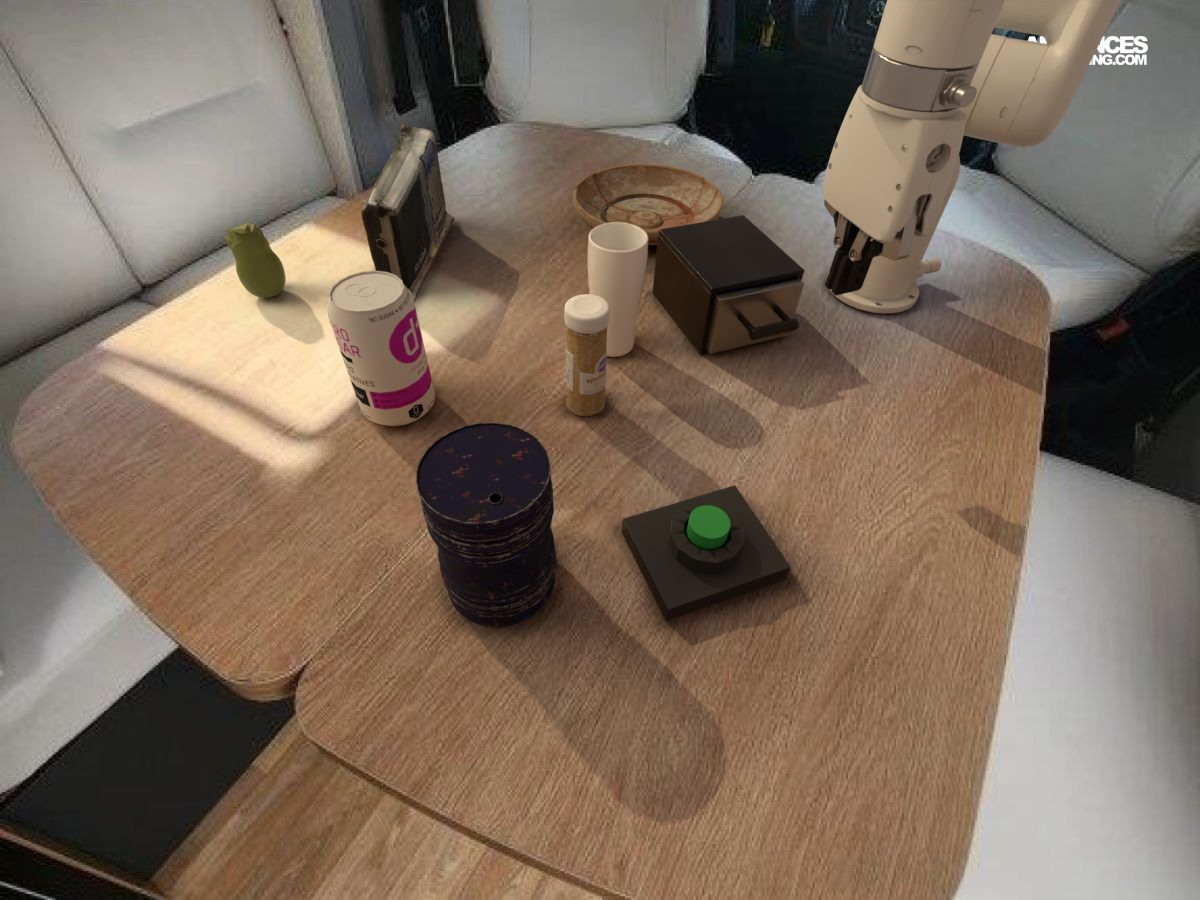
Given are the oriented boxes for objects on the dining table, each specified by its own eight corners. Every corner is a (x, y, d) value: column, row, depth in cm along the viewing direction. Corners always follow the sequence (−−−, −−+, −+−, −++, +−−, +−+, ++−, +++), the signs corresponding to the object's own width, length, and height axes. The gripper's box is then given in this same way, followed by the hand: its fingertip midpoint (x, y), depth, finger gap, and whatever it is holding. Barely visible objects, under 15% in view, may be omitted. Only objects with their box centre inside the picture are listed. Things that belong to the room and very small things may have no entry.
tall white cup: (634, 366, 77) (644, 255, 66) (581, 358, 78) (581, 247, 67) (643, 334, 81) (653, 225, 70) (592, 326, 82) (594, 218, 71)
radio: (410, 306, 84) (385, 198, 73) (350, 298, 85) (317, 190, 74) (468, 224, 100) (454, 125, 89) (416, 218, 101) (397, 119, 90)
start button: (715, 512, 57) (718, 500, 56) (734, 543, 55) (738, 531, 54) (679, 523, 56) (682, 511, 55) (698, 555, 54) (701, 543, 53)
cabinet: (785, 335, 82) (805, 270, 75) (700, 355, 79) (712, 288, 72) (730, 277, 91) (743, 214, 84) (652, 293, 88) (658, 229, 81)
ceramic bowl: (625, 179, 113) (627, 150, 109) (743, 218, 104) (749, 189, 100) (544, 228, 100) (542, 198, 96) (670, 278, 91) (674, 247, 87)
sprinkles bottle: (598, 421, 70) (602, 322, 60) (560, 412, 71) (557, 313, 61) (610, 395, 73) (615, 297, 63) (573, 387, 74) (572, 288, 64)
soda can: (448, 390, 73) (426, 276, 62) (412, 437, 68) (379, 323, 57) (388, 374, 75) (355, 261, 64) (347, 419, 69) (303, 304, 58)
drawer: (807, 355, 78) (825, 302, 72) (726, 375, 75) (739, 321, 69) (736, 281, 89) (747, 229, 83) (663, 295, 86) (669, 243, 80)
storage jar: (434, 552, 58) (401, 441, 47) (535, 520, 61) (526, 407, 50) (462, 646, 52) (432, 543, 41) (573, 605, 55) (572, 499, 44)
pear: (256, 310, 83) (225, 240, 75) (241, 292, 85) (210, 223, 78) (298, 295, 85) (271, 226, 78) (282, 278, 88) (255, 210, 81)
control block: (731, 498, 63) (738, 472, 60) (785, 580, 57) (796, 555, 54) (621, 532, 60) (623, 506, 57) (665, 622, 54) (670, 598, 51)
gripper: (1031, 110, 44) (925, 324, 57) (892, 46, 53) (829, 244, 67) (946, 124, 42) (857, 342, 56) (817, 55, 51) (768, 256, 65)
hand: (842, 288), depth 61 cm, fingers closed
